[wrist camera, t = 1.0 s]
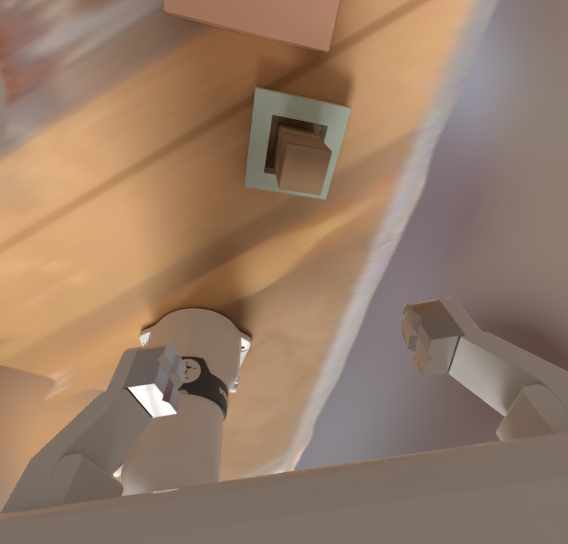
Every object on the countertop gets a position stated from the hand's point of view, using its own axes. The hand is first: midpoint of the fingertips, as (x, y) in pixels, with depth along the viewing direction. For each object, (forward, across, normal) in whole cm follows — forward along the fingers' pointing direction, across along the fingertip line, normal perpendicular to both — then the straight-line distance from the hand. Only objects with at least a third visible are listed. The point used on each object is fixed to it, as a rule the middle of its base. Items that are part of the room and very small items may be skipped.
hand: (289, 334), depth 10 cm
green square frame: (+29, -3, +1) cm, 29 cm away
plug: (+29, -3, +1) cm, 29 cm away
